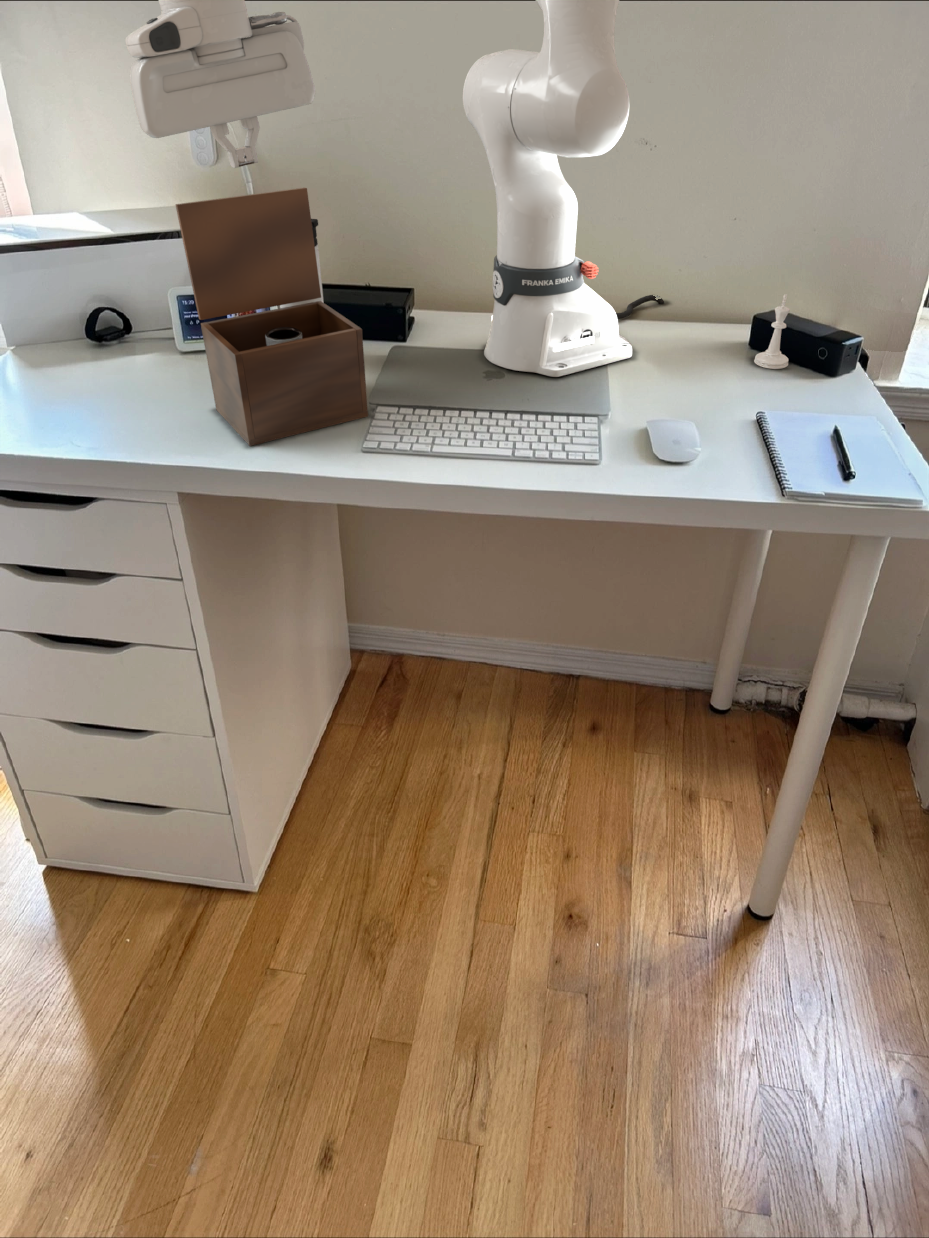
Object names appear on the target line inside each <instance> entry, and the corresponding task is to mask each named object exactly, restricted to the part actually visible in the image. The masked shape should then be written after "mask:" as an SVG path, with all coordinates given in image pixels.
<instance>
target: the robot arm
mask: <svg viewBox="0 0 929 1238" xmlns="http://www.w3.org/2000/svg"><path fill="white" fill-rule="evenodd" d="M535 2H536V4H537V5H538V7H539V8H540V10H541V11H542V15H543V36H542V37H543V38H542V44H541V48H540V51H531V50H524V49H516V48H510V49H505V50H499V51H495V52H492V53H487V54H484V55H483V56H481V57H479V58H478V59H477V60H476V61H475V62H474V63H473V64H472V65H471V67H470V68H469V70H468V72H467V74H466V77H465V80H464V83H463V89H462V105H463V111H464V114H465V117H466V119H467V120H468V122H469V124H470V125H471V126H472V128H473V129H474V130H475V133H476V134H477V135H478V137H479V139H480V142H481V144H482V146H483V149H484V153H485V155H486V159H487V161H488V166H489V169H490V173H491V177H492V181H493V187H494V193H495V199H496V200H495V201H496V255H495V256H494V257H493V268H492V269H493V270H492V271H493V272H492V293H493V294H492V297H493V299H494V301H493V310H492V315H491V319H490V320H491V323H490V327H489V334H488V338H487V340H486V344H485V348H484V350H483V355H484V357H485V359H487V360H488V362H490V363H491V364H494V365H496V366H498V367H501V368H504V369H508V370H512V371H517V372H518V371H519V372H527V373H536V374H539V375H543V376H547V377H551V378H559V377H564V376H566V375H570V374H574V373H578V372H582V371H585V370H589V369H593V368H596V367H601V366H604V365H608V364H611V363H616V362H620V361H623V360H626V359H630V358H632V356H633V346H632V344H631V343H630V342H629V340H628V339H627V338H625V337H624V336H623V334H621V333H619V330H620V329H619V320H621V319H625V318H628V317H630V316H631V315H632V314H633V312H634V309H635V308H637V307H638V306H641V305H642V304H644V303H648V302H656V303H657V304H658V305H664V304H665V300H664V299H663V297H661V299H658V300H656V299H655V298H656V297H655V296H653V295H654V294H649V295H645V296H642V297H640V298H638V299H636V300H634V301H632V302H630V303H629V304H628V305H627V306H626V310H625V311H622V312H616V311H615V309H614V308H613V306H612V305H611V304H610V303H608V302H607V301H606V300H605V299H604V298H603V297H601V296H600V295H599V294H598V293H597V292H596V291H594V290H593V289H592V288H591V287H590V286H588V285H587V284H586V283H585V280H584V277H586V278H587V279H590V280H593V279H595V278H596V277H597V275H599V267H598V266H597V265H596V264H595V263H592V262H591V261H584V260H583V259H582V258H579V257H577V256H576V254H575V253H576V240H577V226H578V212H579V205H578V199H577V196H576V194H575V192H574V190H573V188H572V187H571V186H570V184H569V183H568V182H567V180H566V179H565V177H564V174H563V173H562V169H561V167H560V163H559V160H558V156H559V157H563V158H568V159H575V158H576V159H577V158H588V157H598V156H602V155H604V154H606V153H608V152H609V151H611V150H612V148H614V147H615V145H616V144H617V143H618V142H619V140H620V138H621V137H622V136H623V134H624V131H625V129H626V126H627V123H628V119H629V115H630V94H629V89H628V86H627V83H626V80H625V79H624V78H623V76H622V74H621V72H620V69H619V66H618V62H617V58H616V56H617V55H616V47H615V34H616V33H615V29H616V19H617V13H618V7H619V3H620V0H535ZM158 4H159V8H160V10H161V11H160V14H159V15H158V16H156V17H154V18H151V19H149V20H147V21H146V23H145V24H144V25H142V26H140V27H138V28H137V29H135V30H134V31H132V32H131V33H129V34H128V35H127V36H126V37H125V46H126V49H127V52H128V54H129V55H130V56H131V57H132V58H135V61H133V63H132V65H131V67H130V71H129V83H130V89H131V94H132V100H133V105H134V108H135V113H136V116H137V117H136V118H137V120H138V122H139V126H140V128H141V131H142V132H143V133H144V134H146V135H147V136H148V137H150V138H153V139H160V138H166V137H170V136H174V135H179V134H183V133H187V132H192V131H196V130H197V131H198V130H201V129H206V128H210V131H211V135H212V137H213V138H214V140H215V141H216V142H217V143H218V144H219V145H220V146H221V147H222V149H223V150H224V151H226V153H227V157H228V162H229V164H230V166H231V168H233V169H237V168H241V167H245V166H248V165H254V164H257V163H259V156H258V154H257V149H256V146H257V142H258V137H259V133H260V129H261V127H260V122H259V118H258V117H259V116H263V115H268V114H272V113H278V112H282V111H286V110H291V109H296V108H299V107H304V106H309V105H312V104H313V102H314V99H315V97H316V94H317V91H316V86H315V82H314V78H313V74H312V72H311V68H310V66H309V63H308V59H307V57H306V54H305V50H304V49H305V41H304V40H305V39H304V35H303V31H302V27H301V25H300V23H299V22H298V21H297V19H296V18H295V17H293V16H291V15H289V14H286V12H284V11H276V12H273V13H271V14H260V15H254V16H249V13H248V9H247V6H246V0H158ZM287 21H289V22H287ZM238 121H240V124H241V128H242V129H244V130H246V134H245V141H244V145H243V146H240V147H237V148H236V147H235V146H234V145H233V144H232V142H231V141H230V140H229V138H227V136H228V135H229V134H230V131H229V127H228V126H229V125H228V123H232V122H238Z"/></svg>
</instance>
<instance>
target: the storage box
mask: <svg viewBox="0 0 929 1238" xmlns="http://www.w3.org/2000/svg"><path fill="white" fill-rule="evenodd" d="M200 327H201V328H200V329H201V333H202V334H201V335H202V339H203V344H204V350H205V356H206V361H207V367H208V372H209V377H210V383H211V389H212V394H213V400H214V405H215V410H216V411H217V413H219V415H220V416H222V418H223V419H224V420H225V421H226V422H227V423H228V425H230V426H231V428H232V429H233V430H234V431H235V432H236V433H237V434H238V436H240V438H241V439H243V440H244V441H245V443H246V444H247V445H248V446H249V447H252V446H256V445H261V444H264V443H269V442H272V441H276V440H280V439H283V438H287V437H291V436H296V435H300V434H304V433H307V432H312V431H315V430H320V429H325V428H327V427H332V426H335V425H336V426H337V425H339V424H343V423H347V422H352V421H355V420H360V419H363V418H367V417H369V410H368V409H369V408H368V407H369V406H368V395H367V382H366V381H367V380H366V379H367V378H366V367H365V353H364V339H363V329H362V328H361V327H360V326H358V325H357V324H355V323H354V322H353V321H351V320H350V319H348V318H346V317H345V316H344V315H343V314H341V313H339V312H338V311H336V310H335V309H333V308H332V307H330V306H329V305H327V304H326V303H323V302H322V301H317V302H311V303H306V304H301V305H295V306H290V307H285V308H280V307H279V308H274V309H269V310H263V311H258V312H253V313H249V314H243V315H238V316H232V317H226V318H221V319H216V320H211V321H205V322H200ZM278 327H294V328H297V329H299V330H300V331H301V332H302V339H299V340H294V341H289V342H285V343H280V344H275V345H270V346H267V344H266V336H265V334H266V332H267V331H269V330H271V329H274V328H278Z"/></svg>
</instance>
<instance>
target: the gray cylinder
mask: <svg viewBox="0 0 929 1238" xmlns="http://www.w3.org/2000/svg"><path fill="white" fill-rule="evenodd" d="M265 336H266V344H267V346H270V345H275V344H280V343H285V342H289V341H294V340H299V339H302V332H301V331H300V330H299V329H297V328H294V327H278V328H274V329H271V330H269V331H267V332H266V334H265Z"/></svg>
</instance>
